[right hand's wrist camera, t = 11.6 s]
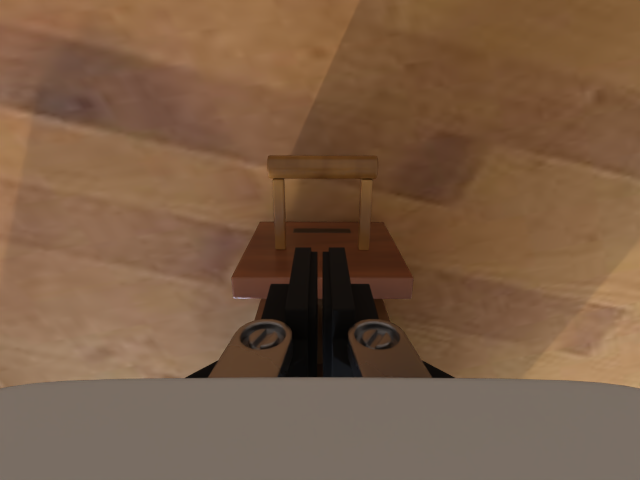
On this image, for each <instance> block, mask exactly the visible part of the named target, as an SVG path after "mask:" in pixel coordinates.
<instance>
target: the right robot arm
mask: <svg viewBox="0 0 640 480" xmlns="http://www.w3.org/2000/svg"><path fill="white" fill-rule="evenodd" d="M317 343H318V261H317V252H311V247H295V252H294V258H293V264H292V270H291V276H290V281H289V284H271V285H270V288H269V292H268V295H267V299H266V303H265V306H264V310H263V314H262V317H261V320H256V321H252V322H250V323H247V324H245V325H244V326H242V327H240V328H239V329H238V331H237V332H236V333H235V334H234V336H233V338H232V339H231V341H230V343H229V344H228V346H227V347H226V349H225V351H224V352H223V354H222V355H221V357H220V359H219V360H218V361H216V362H214V363H212V364H210V365H208V366H207V367H205V368H203V369H201V370H199V371H197V372H195V373H193V374H191V375H190V376H188V377H186V378H164V379H108V380H77V381H57V382H44V383H33V384H26V385H18V386H11V387H6V388H1V389H0V480H640V389H639V388H634V387H629V386H622V385H614V384H606V383H597V382H583V381H566V380H530V379H483V378H454V377H452V376H450V375H449V374H447V373H445V372H443V371H441V370H439V369H437V368H435V367H433V366H432V365H430V364H428V363H426V362H424V361H422V360H421V359H420V357H419V355H418V354H417V352H416V351H415V349H414V347H413V346H412V344H411V343H410V341H409V339H408V338H407V336H406V334H405V333H404V332H403V331H402V329H401V328H400V327H398V326H396V325H395V324H393V323H390V322H388V321H384V320H379V317H378V314H377V310H376V306H375V303H374V299H373V295H372V292H371V288H370V285H369V284H351V281H350V276H349V270H348V264H347V258H346V252H345V247H329V252H323V261H322V343H323V377H317Z"/></svg>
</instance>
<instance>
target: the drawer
mask: <svg viewBox="0 0 640 480" xmlns="http://www.w3.org/2000/svg"><path fill="white" fill-rule="evenodd" d="M267 172H268V177H269V178H270V179H273V180H272V183H273V206H274V222H260V223H259V225H258V227H257V229H256V231H255V233H254V235H253V237H252V239H251V240H250V242H249V244H248V246H247V248H246V250H245V252H244V254H243V256H242V258H241V260H240V262H239V264H238V266H237V268H236V270H235V272H234V274H233V276H232V278H231V280H232V291H233V298H261V301H260V304H259V307H258V311H257V314H256V317H255V320H254V321H256V320H261V317H262V314H263V310H264V306H265V303H266V299H267V295H268V292H269V288H270V285H271V284H289V281H290V276H291V270H292V264H293V258H294V252H295V247H311V252H317V261H318V343H317V377H323V343H322V261H323V252H329V247H345V252H346V258H347V264H348V270H349V276H350V281H351V284H369V285H370V288H371V292H372V295H373V299H374V303H375V306H376V310H377V314H378V317H379V320H384V321H388V322H390V320H389V317H388V314H387V311H386V308H385V305H384V302H383V299H411V297H412V289H413V276H412V274H411V273H410V271H409V269H408V267H407V265H406V263H405V261H404V260H403V258H402V256H401V254H400V252H399V250H398V248H397V247H396V245H395V243H394V241H393V239H392V237H391V235H390V234H389V232H388V230H387V228H386V226H385V224H384V223H383V222H370V221H371V203H372V185H373V180H372V179H376V177H377V174H378V158H377V156H293V155H270V156H268V159H267ZM284 179H361V181H360V204H359V222H286V216H285V184H284Z"/></svg>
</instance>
